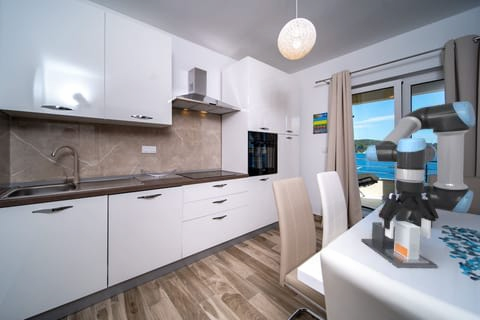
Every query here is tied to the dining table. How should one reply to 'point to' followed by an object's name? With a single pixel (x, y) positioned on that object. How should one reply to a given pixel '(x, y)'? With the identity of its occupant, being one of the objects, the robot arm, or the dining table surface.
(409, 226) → the skincare box
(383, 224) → the plunger
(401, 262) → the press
